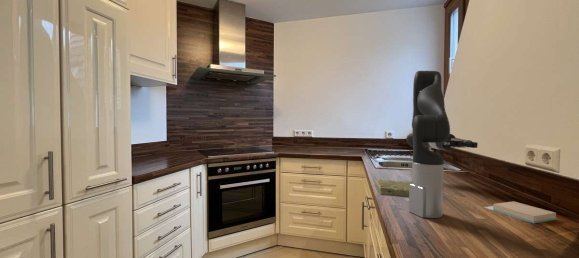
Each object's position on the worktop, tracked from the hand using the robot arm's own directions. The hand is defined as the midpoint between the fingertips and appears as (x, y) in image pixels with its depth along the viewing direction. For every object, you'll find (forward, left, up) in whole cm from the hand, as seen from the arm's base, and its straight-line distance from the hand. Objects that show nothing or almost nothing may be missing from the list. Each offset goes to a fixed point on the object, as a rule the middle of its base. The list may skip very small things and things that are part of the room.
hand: (475, 145), depth 103 cm
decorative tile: (-19, +20, -22) cm, 35 cm away
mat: (-1, -15, -22) cm, 26 cm away
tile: (-1, -11, -20) cm, 23 cm away
